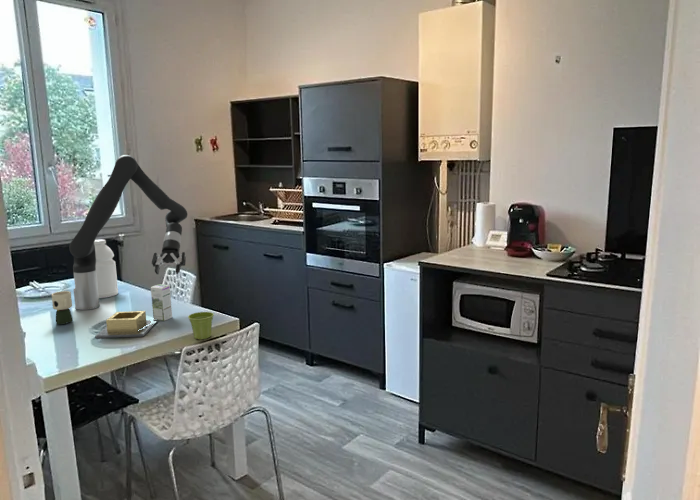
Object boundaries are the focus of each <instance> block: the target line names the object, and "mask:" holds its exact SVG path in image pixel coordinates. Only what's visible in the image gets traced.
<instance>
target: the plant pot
mask: <svg viewBox="0 0 700 500" xmlns="http://www.w3.org/2000/svg"><path fill="white" fill-rule="evenodd" d="M214 316H215V314H214V313H213V312H210V311H200V312H194V313H191V314H189V315H188V316H187V318H188V319H189V322H190V324H191V328H192V332H193V333H192V334H193V337H194V339H195V340H197V339H198V340H206V339H208V338H210V337H211V336H212V323H213V318H214Z"/></svg>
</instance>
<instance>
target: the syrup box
mask: <svg viewBox="0 0 700 500" xmlns="http://www.w3.org/2000/svg"><path fill="white" fill-rule="evenodd" d="M150 296H151V306H152V315H153V318H154V319H157V321H163V322H165V321H167V320H171V318H173V310H172V308H173V307H172V299H171V297H172V295H171V285H170V284H155V285H153V286H151V287H150ZM154 319H153V320H154Z"/></svg>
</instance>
